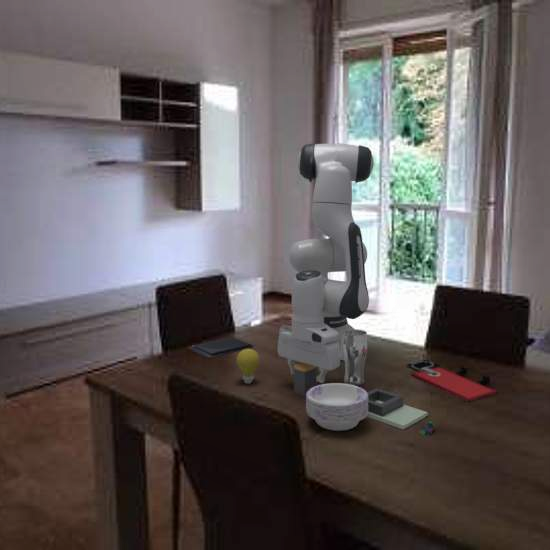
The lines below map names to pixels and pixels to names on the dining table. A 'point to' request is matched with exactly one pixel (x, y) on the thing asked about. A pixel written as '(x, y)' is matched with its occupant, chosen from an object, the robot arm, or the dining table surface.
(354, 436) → the dining table surface
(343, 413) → the paper bowls
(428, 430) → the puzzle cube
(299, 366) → the plug
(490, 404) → the dining table surface
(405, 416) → the board
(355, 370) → the beer glass
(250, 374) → the light bulb
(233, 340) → the wallet
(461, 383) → the red board with handle
